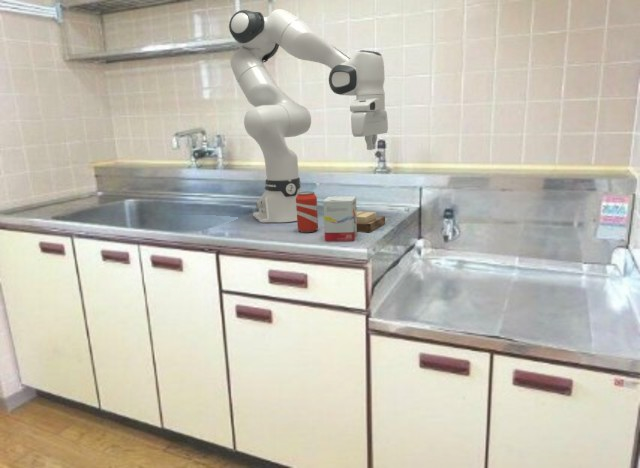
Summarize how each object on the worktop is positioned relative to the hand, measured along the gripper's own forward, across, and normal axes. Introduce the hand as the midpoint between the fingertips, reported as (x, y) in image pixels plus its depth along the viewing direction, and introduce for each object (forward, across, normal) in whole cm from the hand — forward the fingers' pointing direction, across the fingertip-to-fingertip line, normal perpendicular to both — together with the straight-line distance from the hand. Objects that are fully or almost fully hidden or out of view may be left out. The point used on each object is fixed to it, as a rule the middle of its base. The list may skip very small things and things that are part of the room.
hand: (371, 149), depth 159 cm
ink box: (+23, +24, +1) cm, 33 cm away
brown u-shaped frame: (+23, +9, 0) cm, 25 cm away
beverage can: (+24, +19, -13) cm, 33 cm away
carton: (+24, +10, 0) cm, 26 cm away
